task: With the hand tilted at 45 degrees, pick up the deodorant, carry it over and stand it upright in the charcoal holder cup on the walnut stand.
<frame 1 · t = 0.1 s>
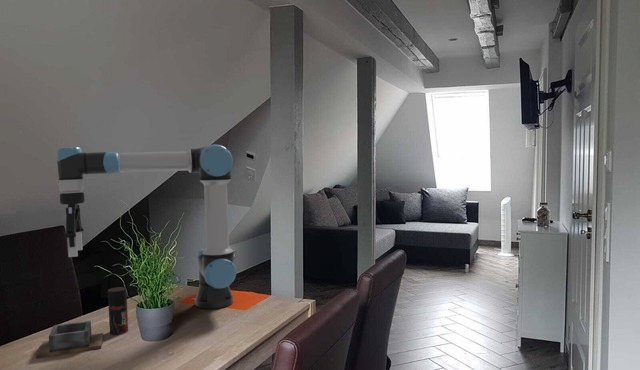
hand: (75, 253, 168), 28 cm above the table, tool pointing down, fingers open, 13 cm apart
deodorant: (119, 332, 169), on the table
holder: (71, 346, 156), on the table
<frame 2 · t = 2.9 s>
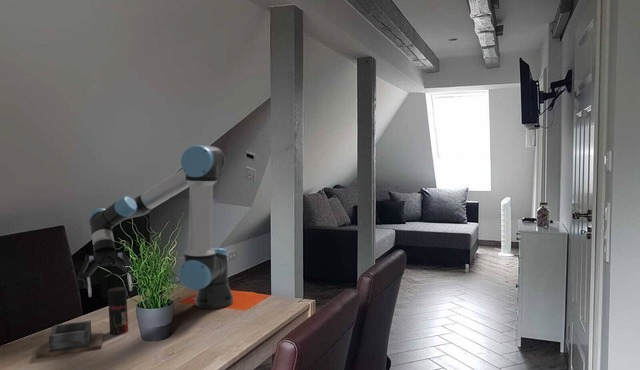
hand: (111, 292, 173), 13 cm above the table, tool tilted 45°, fingers open, 13 cm apart
nothing on the table moved.
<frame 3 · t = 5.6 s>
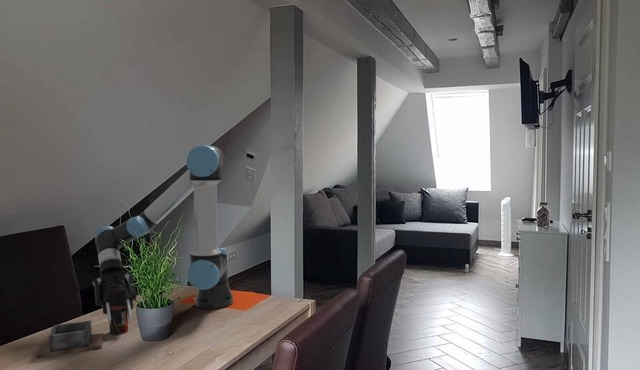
hand: (120, 319, 165), 5 cm above the table, tool tilted 45°, fingers closed on deodorant, 6 cm apart
deodorant: (119, 332, 169), on the table, touching gripper
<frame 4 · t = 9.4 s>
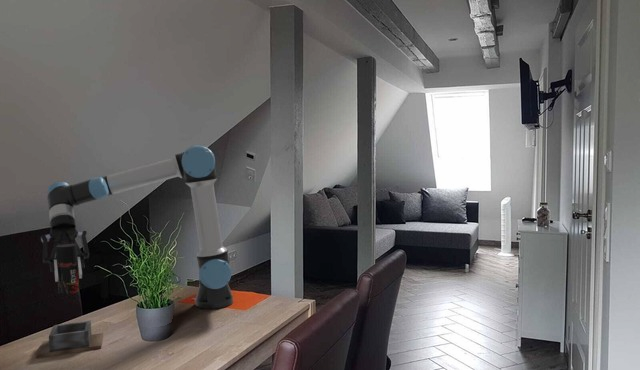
hand: (68, 277, 152), 23 cm above the table, tool tilted 45°, fingers closed on deodorant, 6 cm apart
deodorant: (68, 292, 155), point 18 cm above the table, touching gripper
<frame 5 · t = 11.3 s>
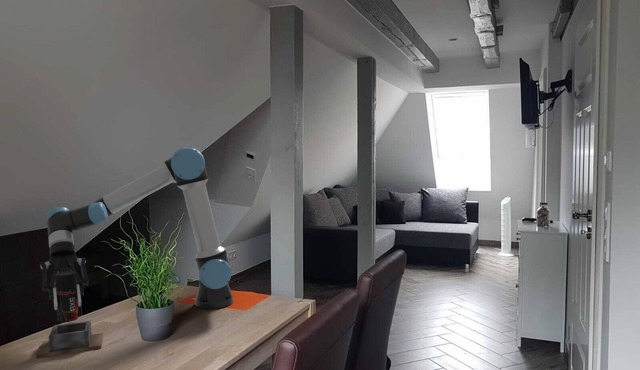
hand: (68, 305, 152), 14 cm above the table, tool tilted 45°, fingers closed on deodorant, 6 cm apart
deodorant: (67, 320, 156), point 9 cm above the table, touching gripper
when the fingers open (9 cm above the table, at t = 13.1 s): deodorant drops 1 cm, resting on holder.
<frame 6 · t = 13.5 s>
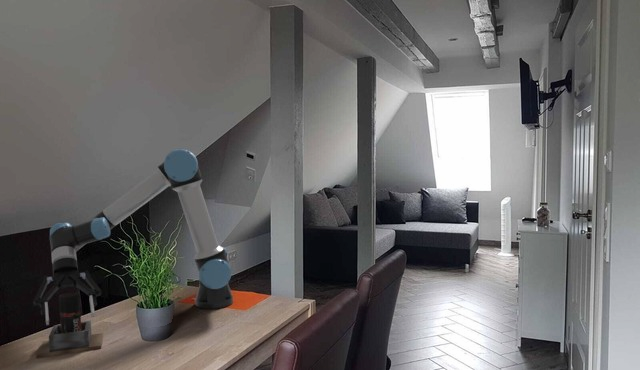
hand: (70, 318, 154), 10 cm above the table, tool tilted 45°, fingers open, 12 cm apart
deodorant: (71, 341, 156), point 2 cm above the table, touching holder
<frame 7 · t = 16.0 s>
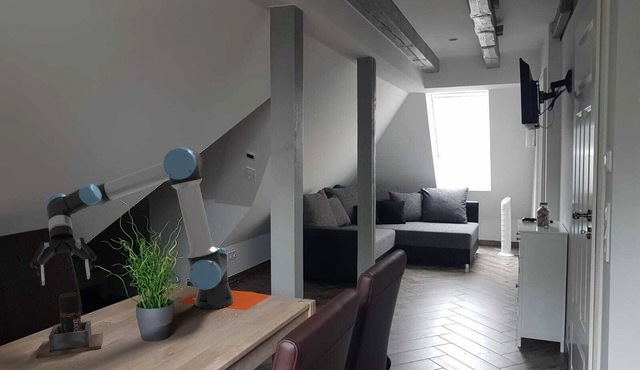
hand: (66, 280, 163), 20 cm above the table, tool tilted 45°, fingers open, 13 cm apart
nothing on the table moved.
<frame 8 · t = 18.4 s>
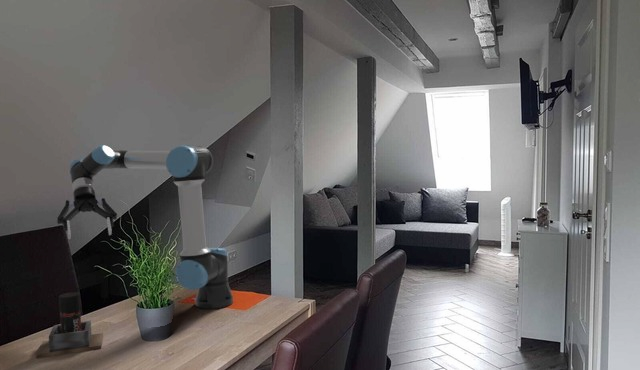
hand: (90, 234, 178), 33 cm above the table, tool tilted 45°, fingers open, 13 cm apart
nothing on the table moved.
at the end: deodorant 0.1 cm off-centre on the holder, point 1.6 cm above the holder's base; deodorant tilted 0°; the gripper is holding nothing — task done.
